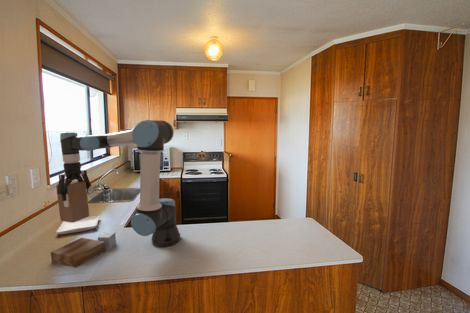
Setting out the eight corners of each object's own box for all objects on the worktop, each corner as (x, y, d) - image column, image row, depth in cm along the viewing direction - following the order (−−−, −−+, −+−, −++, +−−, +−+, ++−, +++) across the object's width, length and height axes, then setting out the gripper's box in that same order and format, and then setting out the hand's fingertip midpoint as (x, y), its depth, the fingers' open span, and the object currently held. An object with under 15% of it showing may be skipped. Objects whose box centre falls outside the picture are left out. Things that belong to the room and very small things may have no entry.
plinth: (105, 251, 128) (104, 241, 128) (76, 267, 113) (74, 257, 113) (82, 246, 134) (81, 237, 133) (51, 262, 119) (50, 252, 118)
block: (73, 223, 130) (68, 185, 128) (59, 221, 134) (55, 184, 131) (90, 216, 139) (86, 181, 137) (77, 215, 143) (73, 180, 140)
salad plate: (64, 225, 166) (63, 220, 166) (100, 219, 174) (100, 214, 174) (56, 237, 147) (55, 232, 146) (97, 230, 155) (96, 225, 155)
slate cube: (116, 243, 137) (115, 232, 136) (109, 248, 131) (108, 237, 130) (105, 243, 137) (104, 232, 137) (98, 248, 132) (97, 237, 131)
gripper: (86, 159, 144) (90, 197, 146) (44, 165, 123) (50, 209, 125) (95, 159, 141) (100, 198, 144) (54, 165, 120) (60, 211, 123)
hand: (76, 203), depth 135 cm, fingers closed on block, 10 cm apart
